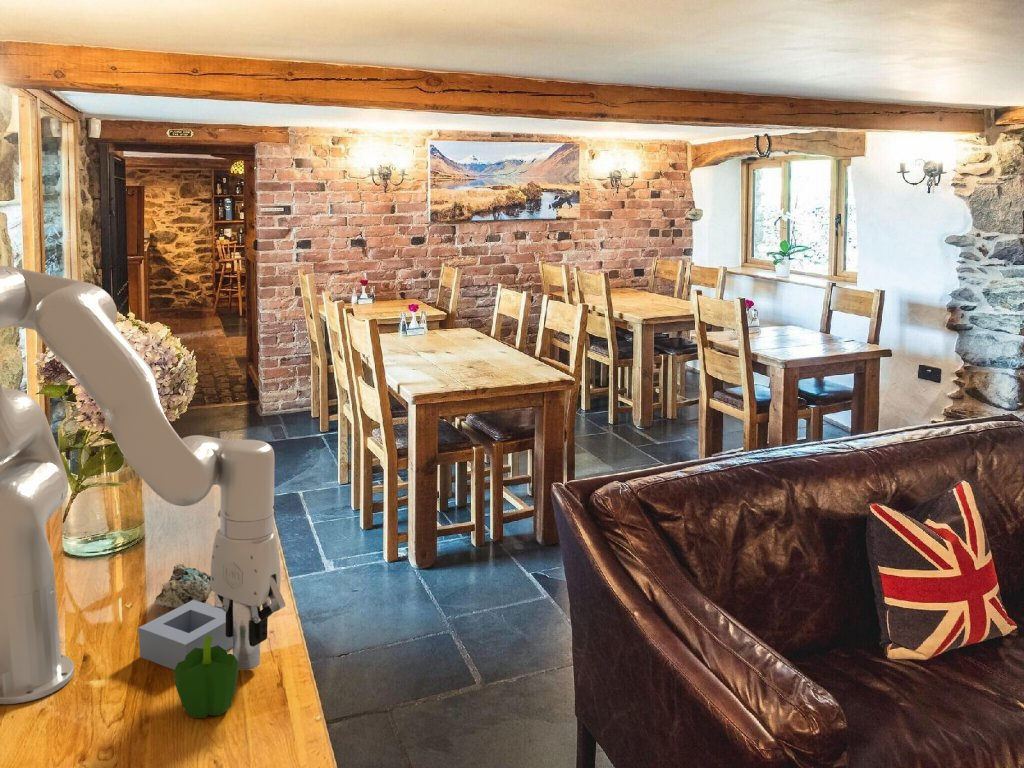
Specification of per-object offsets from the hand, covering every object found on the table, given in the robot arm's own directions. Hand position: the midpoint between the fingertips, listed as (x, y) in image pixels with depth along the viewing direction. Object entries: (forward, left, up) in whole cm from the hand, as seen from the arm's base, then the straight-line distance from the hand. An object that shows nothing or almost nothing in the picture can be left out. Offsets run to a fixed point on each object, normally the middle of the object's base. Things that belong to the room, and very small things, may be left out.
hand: (246, 636), depth 133 cm
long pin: (0, 0, -4) cm, 4 cm away
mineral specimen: (+11, +25, -6) cm, 28 cm away
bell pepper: (-10, -2, -6) cm, 12 cm away
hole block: (0, +12, -6) cm, 13 cm away
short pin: (+8, +12, -6) cm, 16 cm away
